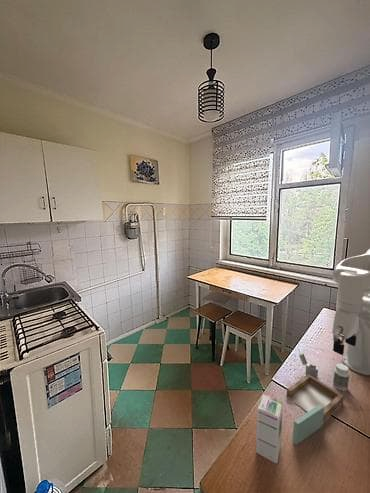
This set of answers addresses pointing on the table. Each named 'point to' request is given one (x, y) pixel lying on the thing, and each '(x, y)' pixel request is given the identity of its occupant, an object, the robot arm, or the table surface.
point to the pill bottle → (341, 377)
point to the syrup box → (269, 428)
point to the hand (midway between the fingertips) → (344, 348)
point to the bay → (315, 395)
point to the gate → (308, 424)
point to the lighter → (309, 367)
